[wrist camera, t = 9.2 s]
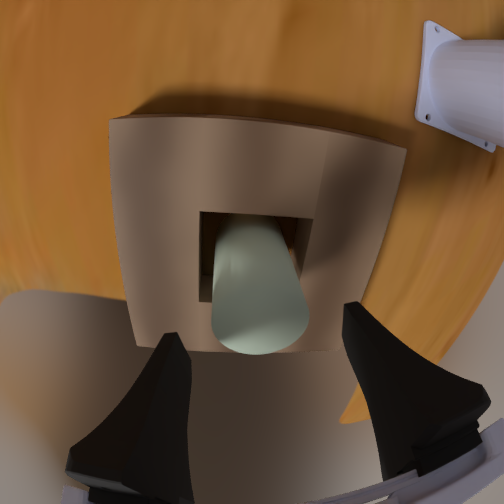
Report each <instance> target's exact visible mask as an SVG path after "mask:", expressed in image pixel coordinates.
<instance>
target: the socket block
mask: <svg viewBox="0 0 504 504" xmlns="http://www.w3.org/2000/svg"><path fill="white" fill-rule="evenodd" d="M406 153H407V149H405V148H403V147H400V146H398V145H395V144H393V143H390V142H388V141H385V140H382V139H378V138H374V137H370V136H366V135H361V134H357V133H352V132H347V131H343V130H337V129H332V128H327V127H321V126H315V125H309V124H303V123H296V122H289V121H281V120H273V119H264V118H254V117H243V116H230V115H212V114H134V115H125V116H121V117H117V118H113V119H109V156H110V178H111V192H112V204H113V215H114V224H115V232H116V240H117V247H118V254H119V261H120V267H121V273H122V279H123V284H124V290H125V295H126V300H127V304H128V309H129V314H130V318H131V323H132V327H133V331H134V335H135V339H136V343H137V346H143V347H153V348H156V346H157V345H158V343H159V341H160V339H161V338H162V336H163V334H164V333H171V332H177V333H178V335H179V337H180V339H181V341H182V343H183V345H184V347H185V349H186V350H192V351H212V352H237V351H234V350H232V349H229V348H228V347H226V346H224V345H223V344H222V343H221V342H220V341H219V340H218V339H217V338H216V337H215V335H214V333H213V330H212V326H211V314H212V294H213V276H210V275H202V231H203V211H205V212H224V213H241V214H257V215H271V216H285V217H298V221H297V227H296V232H295V237H294V242H293V248H292V253H291V260H292V262H293V265H294V268H295V271H296V274H297V277H298V279H299V282H300V285H301V288H302V291H303V294H304V297H305V300H306V303H307V306H308V309H309V323H308V325H307V328H306V330H305V331H304V333H303V334H302V335H301V336H300V337H299V338H298V339H297V340H296V341H295V342H294V343H292V344H291V345H289V346H287V347H286V348H283V349H281V350H279V351H275V352H310V351H328V350H340V348H341V346H342V343H343V339H342V336H341V335H342V323H343V308H344V304H345V303H350V302H354V301H358V302H359V303H360V301H361V299H362V296H363V294H364V291H365V289H366V286H367V284H368V281H369V278H370V275H371V273H372V270H373V267H374V264H375V262H376V259H377V256H378V253H379V250H380V247H381V244H382V241H383V238H384V235H385V231H386V228H387V225H388V222H389V218H390V215H391V212H392V208H393V205H394V201H395V197H396V194H397V190H398V186H399V182H400V178H401V174H402V170H403V166H404V162H405V157H406ZM273 353H274V352H273Z"/></svg>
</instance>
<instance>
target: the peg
mask: <svg viewBox="0 0 504 504" xmlns="http://www.w3.org/2000/svg"><path fill="white" fill-rule="evenodd" d="M308 323H309V309H308V306H307V303H306V300H305V297H304V294H303V291H302V288H301V285H300V282H299V279H298V277H297V274H296V271H295V268H294V265H293V262H292V260H291V257H290V254H289V251H288V248H287V246H286V243H285V240H284V237H283V234H282V232H281V229H280V226H279V224H278V222H277V221H276V220H275V218H274V217H273V216H271V215H257V214H241V213H231V214H229V215H228V216H226V217H225V218H224V219H223V221H222V222H221V223H220V225H219V227H218V229H217V233H216V245H215V260H214V276H213V294H212V314H211V326H212V330H213V333H214V335H215V337H216V338H217V339H218V340H219V341H220V342H221V343H222V344H223V345H224V346H226V347H228V348H229V349H232V350H234V351H237V352H240V353H245V354H267V353H272V352H275V351H279V350H281V349H283V348H286V347H287V346H289V345H291V344H292V343H294V342H295V341H296V340H297V339H298V338H299V337H300V336H301V335H302V334H303V333H304V331H305V330H306V328H307V325H308Z"/></svg>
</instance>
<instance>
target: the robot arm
mask: <svg viewBox="0 0 504 504" xmlns="http://www.w3.org/2000/svg"><path fill="white" fill-rule="evenodd" d="M435 28H436V30H437V32H436V31H435ZM426 114H427V115H428V119H427V120H426ZM415 118H416V119H417V120H418V121H419V122H422V123H425V124H428V125H430V126H433V127H435V128H438V129H440V130H443V131H445V132H448V133H450V134H453V135H455V136H457V137H459V138H462V139H464V140H466V141H468V142H470V143H473V144H475V145H477V146H479V147H481V148H483V149H485V150H487V151H489V152H494V151H495V147H496V145H498V146H501V147H503V148H504V40H463V39H461V38H460V37H458V36H457V35H455V34H453V33H452V32H450V31H448V30H447V29H445V28H443V27H442V26H440V25H438V24H436V23H435V22H433V21H430V20H429V21H425V22H424V32H423V49H422V61H421V71H420V80H419V88H418V95H417V102H416V108H415ZM341 336H342V339H343V342H344V346H345V349H346V352H347V356H348V358H349V361H350V363H351V365H352V368H353V370H354V372H355V375H356V377H357V379H358V382H359V384H360V387H361V389H362V391H363V394H364V396H365V399H366V402H367V405H368V409H369V413H370V416H371V420H372V424H373V428H374V433H375V437H376V442H377V447H378V452H379V458H380V465H381V472H382V478H383V482H381V483H378V484H375V485H372V486H369V487H366V488H362V489H360V490H356V491H352V492H349V493H345V494H342V495H337V496H333V497H329V498H324V499H320V500H315V501H310V502H304V503H298V504H364V503H367V502H370V501H373V500H376V499H379V498H382V497H385V496H388V495H389V496H388V498H387V499H386V500H383V501H381V502H378V503H375V504H462V503H464V502H465V501H467V500H468V499H470V498H471V497H473V496H474V495H475V494H477V493H478V492H479V491H481V490H482V489H484V488H485V487H487V486H488V485H489V484H490V483H492V482H493V481H494V480H496V479H497V478H498V477H500V476H501V475H502V474H503V473H504V419H503V418H500V419H499V420H498V421H496V422H495V423H493V424H492V425H490V426H489V427H487V428H486V429H484V430H483V431H482V432H480V433H479V432H478V430H477V428H479V423H478V421H477V419H478V418H479V417H480V416H481V415H482V414H483V413H484V412H485V411H486V410H487V409H488V408H489V406H490V404H491V400H490V398H489V396H488V394H487V392H486V390H485V389H484V388H483V386H482V385H481V384H478V383H475V382H473V381H470V380H467V379H464V378H462V377H459V376H457V375H455V374H453V373H450V372H448V371H446V370H444V369H443V368H441V367H439V366H437V365H435V364H433V363H432V362H430V361H428V360H427V359H425V358H423V357H422V356H420V355H419V354H418V353H416V352H415V351H413V350H412V349H411V348H409V347H408V346H407V345H405V344H404V343H403V342H402V341H400V340H399V339H398V338H397V337H395V336H394V335H393V334H392V333H391V332H390V331H389V330H387V329H386V328H385V327H384V326H383V325H382V324H381V323H380V322H379V321H378V320H376V319H375V318H374V317H373V316H372V315H371V314H370V313H369V312H368V311H367V310H366V309H365V308H364V307H363V306H362V305H361V304H360V303H359V302H358V301H354V302H350V303H345V304H344V308H343V323H342V335H341ZM191 383H192V371H191V359H190V357H189V355H188V353H187V351H186V349H185V347H184V345H183V343H182V341H181V339H180V337H179V335H178V333H177V332H171V333H164V334H163V336H162V338H161V339H160V341H159V343H158V345H157V346H156V348H155V350H154V352H153V353H152V355H151V357H150V359H149V361H148V362H147V364H146V365H145V367H144V369H143V370H142V372H141V374H140V375H139V377H138V378H137V380H136V381H135V383H134V384H133V386H132V387H131V389H130V390H129V391H128V393H127V394H126V395H125V397H124V398H123V399H122V401H121V402H120V403H119V404H118V406H117V407H116V408H115V409H114V410H113V411H112V412H111V413H110V414H109V415H108V417H107V418H106V419H105V420H104V421H103V422H102V423H101V424H100V425H99V426H97V427H96V428H95V429H94V430H93V431H92V432H91V433H90V434H88V435H87V436H86V437H85V438H83V439H82V440H81V441H79V442H78V443H77V444H75V445H74V446H72V447H71V448H70V451H69V455H68V459H67V464H66V469H65V472H66V474H67V475H68V476H69V477H71V478H73V479H75V480H77V481H79V482H81V483H83V484H85V485H87V486H89V487H90V489H89V492H88V491H85V490H82V489H79V488H76V487H72V486H69V485H66V484H65V485H64V488H63V493H62V500H61V504H194V503H195V502H194V498H193V491H192V486H191V479H190V470H189V460H188V443H187V442H188V441H187V422H188V412H189V401H190V393H191ZM390 494H391V495H390Z"/></svg>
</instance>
